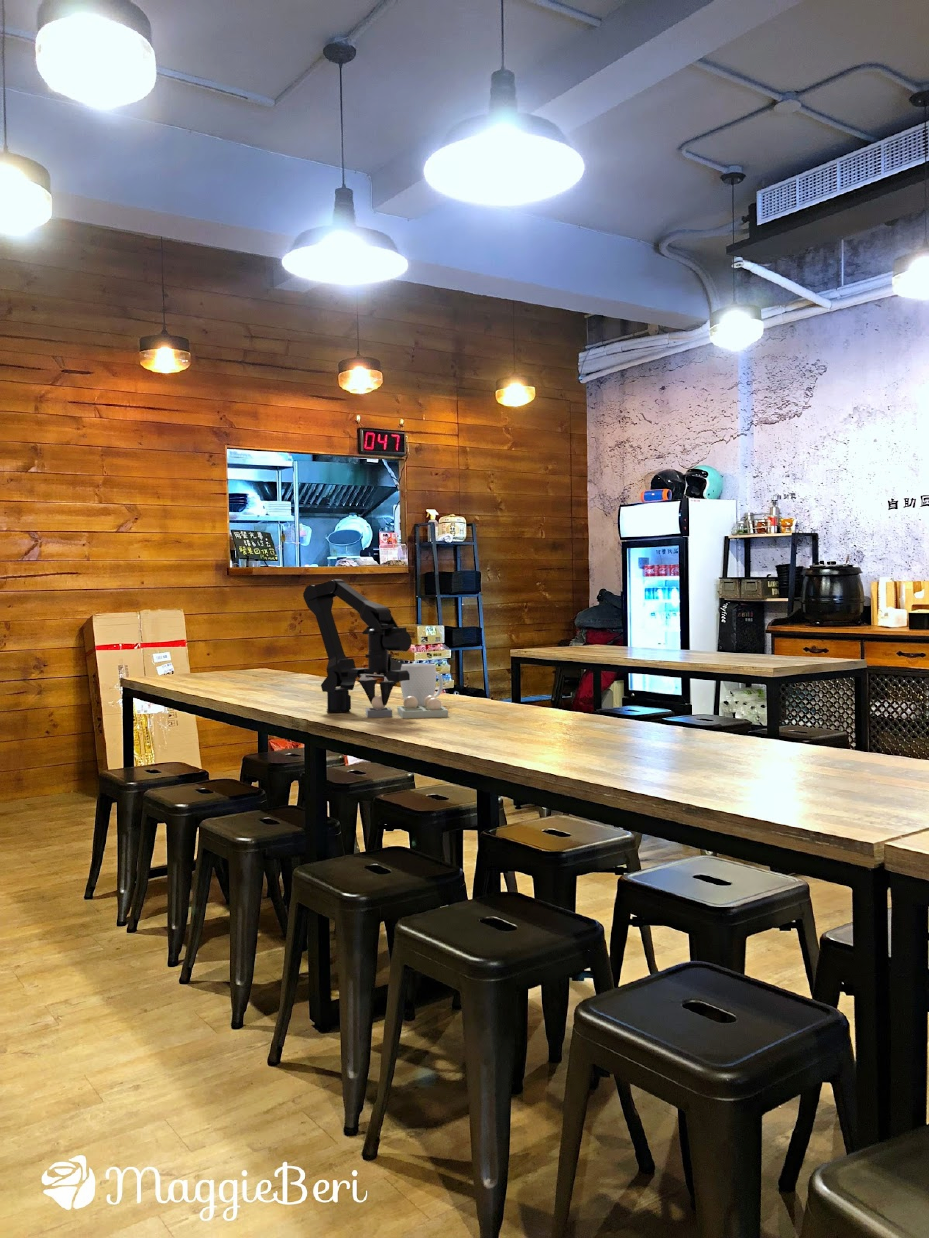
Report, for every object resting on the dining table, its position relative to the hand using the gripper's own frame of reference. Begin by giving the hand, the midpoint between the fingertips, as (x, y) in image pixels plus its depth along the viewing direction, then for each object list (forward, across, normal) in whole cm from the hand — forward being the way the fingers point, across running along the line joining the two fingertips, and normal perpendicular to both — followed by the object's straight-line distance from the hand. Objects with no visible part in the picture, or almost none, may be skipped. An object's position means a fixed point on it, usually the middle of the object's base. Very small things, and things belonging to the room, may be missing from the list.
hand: (378, 704), depth 273 cm
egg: (-1, 0, 0) cm, 1 cm away
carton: (+3, -10, -8) cm, 13 cm away
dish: (+3, 0, 0) cm, 3 cm away
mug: (+3, +3, -24) cm, 24 cm away
